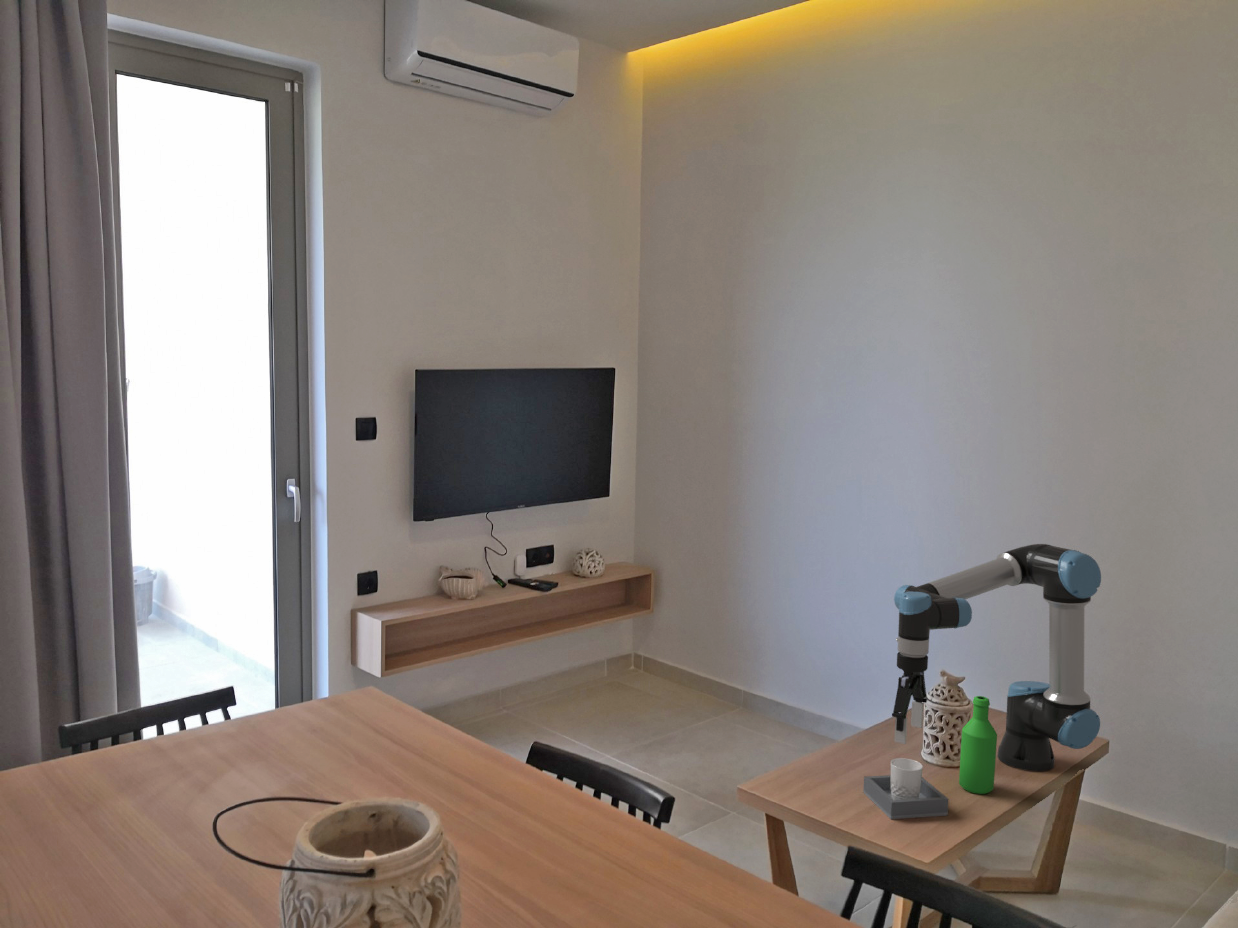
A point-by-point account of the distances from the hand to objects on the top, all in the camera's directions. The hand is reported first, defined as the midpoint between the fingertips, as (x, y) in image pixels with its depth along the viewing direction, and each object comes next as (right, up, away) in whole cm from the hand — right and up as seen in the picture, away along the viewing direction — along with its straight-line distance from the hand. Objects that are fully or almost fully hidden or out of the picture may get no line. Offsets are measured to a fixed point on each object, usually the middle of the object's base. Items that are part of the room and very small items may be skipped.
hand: (908, 734), depth 242 cm
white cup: (-1, -18, +1) cm, 18 cm away
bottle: (+22, -18, +12) cm, 31 cm away
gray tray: (-1, -18, +2) cm, 18 cm away
